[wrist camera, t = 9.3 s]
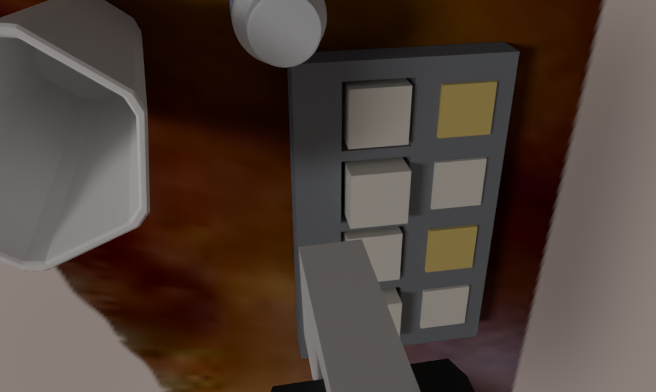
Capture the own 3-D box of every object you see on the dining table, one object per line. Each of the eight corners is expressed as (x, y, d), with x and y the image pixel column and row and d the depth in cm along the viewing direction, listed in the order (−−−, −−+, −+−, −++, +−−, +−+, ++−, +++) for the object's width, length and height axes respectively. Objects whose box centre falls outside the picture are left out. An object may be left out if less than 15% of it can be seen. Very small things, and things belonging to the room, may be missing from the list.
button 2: (344, 161, 45) (351, 176, 43) (401, 156, 46) (411, 171, 44) (344, 212, 47) (350, 229, 45) (398, 207, 48) (407, 223, 46)
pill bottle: (317, -41, 40) (348, -13, 31) (301, 41, 42) (325, 87, 34) (233, -59, 38) (242, -35, 30) (222, 27, 41) (227, 71, 32)
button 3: (341, 223, 49) (347, 239, 47) (394, 218, 49) (402, 233, 47) (340, 268, 51) (346, 285, 49) (391, 262, 52) (399, 279, 50)
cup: (-33, 65, 39) (-176, 191, 24) (38, -75, 36) (-76, -28, 21) (128, 150, 44) (91, 299, 29) (203, 32, 41) (203, 131, 26)
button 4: (343, 291, 51) (349, 309, 49) (394, 285, 52) (402, 303, 49) (342, 331, 53) (348, 350, 51) (391, 325, 54) (399, 343, 52)
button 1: (342, 78, 43) (349, 89, 41) (402, 75, 44) (412, 85, 42) (341, 135, 45) (348, 149, 43) (399, 131, 46) (408, 144, 44)
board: (286, 53, 42) (291, 65, 40) (503, 41, 45) (521, 52, 42) (297, 338, 55) (301, 361, 52) (466, 317, 57) (478, 338, 55)
